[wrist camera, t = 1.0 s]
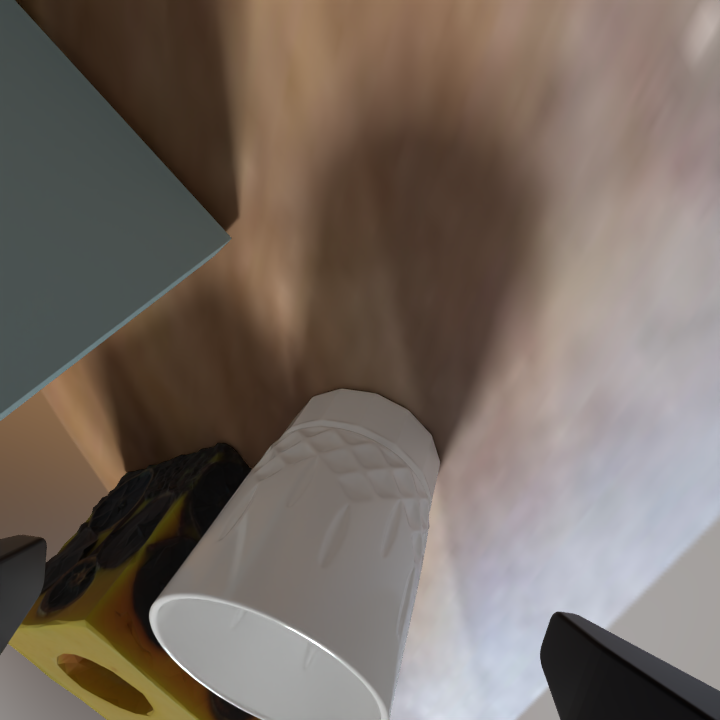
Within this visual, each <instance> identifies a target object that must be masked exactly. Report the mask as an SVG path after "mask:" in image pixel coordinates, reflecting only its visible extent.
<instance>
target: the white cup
mask: <svg viewBox="0 0 720 720" xmlns="http://www.w3.org/2000/svg"><path fill="white" fill-rule="evenodd" d="M439 467H440V460H439V457H438V454H437V451H436V447H435V444H434V441H433V437H432V435H431V434H430V433H429V432H428V431H427V430H426V428H425V427H424V426H423V425H422V424H421V423H420V422H419V421H418V420H417V419H416V418H415V417H414V415H413V414H412V413H411V412H410V411H409V410H407V409H405V408H404V407H402V406H400V405H398V404H396V403H394V402H392V401H390V400H388V399H386V398H384V397H382V396H380V395H378V394H376V393H371V392H364V391H357V390H349V389H338V390H334V391H331V392H327V393H324V394H320V395H316V396H313V397H312V398H311V399H310V400H309V402H308V403H307V404H306V405H305V406H304V407H303V408H302V410H301V411H300V412H299V413H298V414H297V415H296V417H295V418H294V419H293V421H292V422H291V424H290V425H289V426H288V428H287V429H286V431H285V432H284V433H283V435H282V436H281V437H280V439H279V440H277V441H276V442H274V443H273V444H272V445H271V446H270V447H269V449H268V450H267V451H266V453H265V454H264V456H263V457H262V459H261V460H260V461H259V462H258V464H257V465H256V466H255V467H254V468H253V469H252V470H251V472H250V473H249V474H248V476H247V477H246V478H245V480H244V481H243V482H242V484H241V485H240V486H239V488H238V489H237V490H236V492H235V493H234V494H233V496H232V497H231V499H230V500H229V501H228V503H227V504H226V505H225V507H224V508H223V509H222V511H221V512H220V513H219V515H218V516H217V518H216V519H215V520H214V522H213V523H212V524H211V526H210V527H209V528H208V530H207V531H206V532H205V534H204V535H203V537H202V538H201V539H200V541H199V542H198V543H197V545H196V546H195V547H194V549H193V550H192V551H191V553H190V554H189V556H188V557H187V558H186V560H185V561H184V562H183V564H182V565H181V566H180V568H179V569H178V570H177V572H176V573H175V574H174V576H173V577H172V578H171V580H170V581H169V583H168V584H167V585H166V587H165V588H164V589H163V591H162V592H161V593H160V595H159V596H158V597H157V599H156V600H155V601H154V603H153V604H152V606H151V608H150V611H149V621H150V625H151V628H152V631H153V633H154V635H155V637H156V639H157V640H158V642H159V643H160V645H161V646H162V647H163V649H164V650H165V651H166V652H167V654H168V655H169V656H170V657H171V658H172V659H173V660H174V661H175V662H176V663H177V664H178V665H179V666H180V667H181V668H182V669H183V670H184V671H186V672H187V673H188V674H189V675H190V676H192V677H193V678H194V679H195V680H197V681H198V682H199V683H200V684H202V685H203V686H205V687H206V688H207V689H209V690H210V691H212V692H213V693H215V694H216V695H218V696H219V697H221V698H222V699H224V700H226V701H227V702H229V703H231V704H232V705H234V706H236V707H238V708H240V709H241V710H243V711H245V712H247V713H249V714H251V715H253V716H255V717H257V718H259V719H261V720H390V715H391V710H392V706H393V701H394V696H395V691H396V687H397V682H398V677H399V672H400V668H401V663H402V658H403V654H404V649H405V644H406V640H407V635H408V630H409V626H410V621H411V617H412V612H413V607H414V603H415V598H416V594H417V589H418V584H419V580H420V575H421V570H422V565H423V559H424V553H425V548H426V542H427V536H428V530H429V512H430V508H431V503H432V498H433V493H434V489H435V485H436V480H437V476H438V472H439Z"/></svg>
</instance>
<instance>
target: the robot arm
mask: <svg viewBox="0 0 720 720" xmlns="http://www.w3.org/2000/svg"><path fill="white" fill-rule="evenodd" d="M46 549H47V545H46V541H45V540H44V538H41V537H35V536H28V535H16V536H12V537H8V538H4V539H0V655H1V653H2V652H3V650H4V649H5V647H6V646H7V644H8V643H9V641H10V640H11V638H12V637H13V635H14V633H15V632H16V630H17V629H18V627H19V626H20V624H21V623H22V621H23V620H24V618H25V617H26V615H27V614H28V612H29V611H30V609H31V608H32V606H33V605H34V603H35V602H36V600H37V599H38V597H39V595H40V593H41V590H42V588H43V584H44V577H45V563H46ZM540 660H541V665H542V668H543V671H544V674H545V677H546V680H547V682H548V685H549V688H550V691H551V694H552V697H553V700H554V703H555V705H556V708H557V711H558V714H559V717H560V720H720V691H719V690H717V689H715V688H713V687H711V686H709V685H707V684H705V683H704V682H702V681H700V680H698V679H696V678H694V677H692V676H691V675H689V674H687V673H685V672H683V671H681V670H679V669H678V668H676V667H673V666H672V665H670V664H668V663H666V662H665V661H663V660H661V659H659V658H657V657H655V656H653V655H652V654H650V653H648V652H646V651H644V650H642V649H640V648H638V647H637V646H634V645H633V644H631V643H629V642H627V641H625V640H624V639H622V638H620V637H618V636H616V635H614V634H612V633H611V632H609V631H607V630H605V629H603V628H601V627H599V626H598V625H596V624H594V623H592V622H590V621H588V620H586V619H585V618H583V617H581V616H579V615H576V614H573V613H566V612H556V613H554V614H553V615H552V617H551V619H550V622H549V625H548V628H547V631H546V634H545V637H544V640H543V643H542V646H541V651H540Z"/></svg>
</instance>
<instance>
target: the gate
mask: <svg viewBox="0 0 720 720" xmlns="http://www.w3.org/2000/svg"><path fill="white" fill-rule="evenodd" d="M231 239H232V238H231V237H230V236H229V235H228V234H227V233H226V231H225V230H224V229H223V228H222V227H221V226H220V225H219V224H218V223H217V222H216V220H215V219H214V218H213V217H212V216H211V215H210V214H209V213H208V212H207V211H206V209H205V208H204V207H203V206H202V205H201V204H200V203H199V202H198V201H197V200H196V198H195V197H194V196H193V195H192V194H191V193H190V192H189V191H188V190H187V189H186V188H185V186H184V185H183V184H182V183H181V182H180V181H179V180H178V179H177V178H176V177H175V175H174V174H173V173H172V172H171V171H170V170H169V169H168V168H167V167H166V166H165V164H164V163H163V162H162V161H161V160H160V159H159V158H158V157H157V156H156V155H155V153H154V152H153V151H152V150H151V149H150V148H149V147H148V146H147V145H146V144H145V143H144V141H143V140H142V139H141V138H140V137H139V136H138V135H137V134H136V133H135V132H134V130H133V129H132V128H131V127H130V126H129V125H128V124H127V123H126V122H125V121H124V119H123V118H122V117H121V116H120V115H119V114H118V113H117V112H116V111H115V110H114V108H113V107H112V106H111V105H110V104H109V103H108V102H107V101H106V100H105V99H104V98H103V96H102V95H101V94H100V93H99V92H98V91H97V90H96V89H95V88H94V87H93V85H92V84H91V83H90V82H89V81H88V80H87V79H86V78H85V77H84V76H83V74H82V73H81V72H80V71H79V70H78V69H77V68H76V67H75V66H74V65H73V63H72V62H71V61H70V60H69V59H68V58H67V57H66V56H65V55H64V54H63V53H62V51H61V50H60V49H59V48H58V47H57V46H56V45H55V44H54V43H53V42H52V40H51V39H50V38H49V37H48V36H47V35H46V34H45V33H44V32H43V31H42V29H41V28H40V27H39V26H38V25H37V24H36V23H35V22H34V21H33V20H32V19H31V17H30V16H29V15H28V14H27V13H26V12H25V11H24V10H23V9H22V8H21V6H20V5H19V4H18V3H17V2H16V1H15V0H0V421H1V420H2V419H3V418H4V417H6V416H7V415H8V414H10V413H11V412H12V411H14V410H15V409H16V408H18V407H19V406H20V405H21V404H23V403H24V402H25V401H27V400H28V399H29V398H30V397H32V396H33V395H34V394H36V393H37V392H38V391H40V390H41V389H42V388H44V387H45V386H46V385H47V384H49V383H50V382H51V381H53V380H54V379H55V378H57V377H58V376H59V375H60V374H62V373H63V372H64V371H66V370H67V369H68V368H70V367H71V366H72V365H73V364H75V363H76V362H77V361H79V360H80V359H81V358H82V357H84V356H85V355H86V354H88V353H89V352H90V351H92V350H93V349H94V348H95V347H97V346H98V345H99V344H101V343H102V342H103V341H105V340H106V339H107V338H108V337H110V336H111V335H112V334H114V333H115V332H116V331H118V330H119V329H120V328H121V327H123V326H124V325H125V324H127V323H128V322H129V321H131V320H132V319H133V318H134V317H136V316H137V315H138V314H140V313H141V312H142V311H144V310H145V309H146V308H147V307H149V306H150V305H151V304H153V303H154V302H155V301H156V300H158V299H159V298H160V297H162V296H163V295H164V294H166V293H167V292H168V291H169V290H171V289H172V288H173V287H175V286H176V285H177V284H179V283H180V282H181V281H182V280H184V279H185V278H186V277H188V276H189V275H190V274H192V273H193V272H194V271H195V270H197V269H198V268H199V267H201V266H202V265H203V264H205V263H206V262H207V261H208V260H210V259H211V258H212V257H214V256H215V255H216V254H217V253H218V252H219V251H220V250H221V249H222V248H223V247H224V246H225V245H226V244H227V243H228V242H229V241H230V240H231Z"/></svg>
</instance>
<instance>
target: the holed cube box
mask: <svg viewBox="0 0 720 720" xmlns="http://www.w3.org/2000/svg"><path fill="white" fill-rule="evenodd" d="M250 472H251V469H250V468H249V467H248V466H247V464H246V463H245V462H244V461H243V459H242V458H241V457H240V455H239V454H238V453H237V452H236V451H234V450H233V449H232V448H231V447H230V446H228V445H227V444H221V443H218V444H217V445H216V446H215V447H213V448H208V449H201V450H200V451H199V452H196V453H192V454H189V455H181V456H178V457H176V458H174V459H171V460H169V461H166V462H163V463H161V464H158V465H149V466H148V467H147V468H146V469H143V470H138V471H135V472H127V473H126V474H125V475H124V476H123V477H122V478H121V480H120V481H119V483H118V484H117V486H116V487H115V489H113V490H112V491H110V492H109V494H108V496H105V497H103V498H102V499H101V500H100V501H99V503H98V504H97V505H96V506H95V507H93V511H92V514H91V516H90V517H89V518H88V520H87V521H86V522H85V523H83V524H82V525H81V526H80V528H79V530H78V531H77V533H76V534H75V535H74V536H72V537H71V538H70V539H69V540H68V541H67V542H66V543H65V544H64V546H63V547H62V548H61V550H60V551H59V552H58V554H57V555H55V556H54V557H52V558H51V559H50V560H49V561H48V562H46V563H45V577H44V584H43V588H42V590H41V593H40V595H39V597H38V599H37V600H36V602H35V603H34V605H33V606H32V608H31V609H30V611H29V612H28V614H27V615H26V617H25V618H24V620H23V621H22V623H21V624H20V626H19V627H18V629H17V630H16V632H15V633H14V635H13V637H12V638H11V640H10V641H9V643H8V644H9V645H11V646H12V647H13V648H14V649H16V650H17V651H18V652H19V653H21V654H22V655H23V656H24V657H26V658H27V659H28V660H29V661H31V662H32V663H33V664H34V665H35V666H37V667H38V668H39V669H40V670H41V671H42V672H44V673H45V674H46V675H47V676H49V677H50V678H51V679H52V680H54V681H55V682H56V683H58V684H59V685H61V686H62V687H64V688H65V689H67V690H68V691H70V692H71V693H72V694H74V695H75V696H77V697H78V698H80V699H81V700H82V701H84V702H85V703H86V704H87V705H89V706H90V707H91V708H92V709H94V710H95V711H96V712H98V713H99V714H100V715H102V716H103V717H104V718H105V719H107V720H261V719H259V718H257V717H255V716H253V715H251V714H249V713H247V712H245V711H243V710H241V709H240V708H238V707H236V706H234V705H232V704H231V703H229V702H227V701H226V700H224V699H222V698H221V697H219V696H218V695H216V694H215V693H213V692H212V691H210V690H209V689H207V688H206V687H205V686H203V685H202V684H200V683H199V682H198V681H197V680H195V679H194V678H193V677H192V676H190V675H189V674H188V673H187V672H186V671H184V670H183V669H182V668H181V667H180V666H179V665H178V664H177V663H176V662H175V661H174V660H173V659H172V658H171V657H170V656H169V655H168V654H167V652H166V651H165V650H164V649H163V647H162V646H161V645H160V643H159V642H158V640H157V639H156V637H155V635H154V633H153V631H152V628H151V625H150V621H149V611H150V608H151V606H152V604H153V603H154V601H155V600H156V599H157V597H158V596H159V595H160V593H161V592H162V591H163V589H164V588H165V587H166V585H167V584H168V583H169V581H170V580H171V578H172V577H173V576H174V574H175V573H176V572H177V570H178V569H179V568H180V566H181V565H182V564H183V562H184V561H185V560H186V558H187V557H188V556H189V554H190V553H191V551H192V550H193V549H194V547H195V546H196V545H197V543H198V542H199V541H200V539H201V538H202V537H203V535H204V534H205V532H206V531H207V530H208V528H209V527H210V526H211V524H212V523H213V522H214V520H215V519H216V518H217V516H218V515H219V513H220V512H221V511H222V509H223V508H224V507H225V505H226V504H227V503H228V501H229V500H230V499H231V497H232V496H233V494H234V493H235V492H236V490H237V489H238V488H239V486H240V485H241V484H242V482H243V481H244V480H245V478H246V477H247V476H248V474H249V473H250Z"/></svg>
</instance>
